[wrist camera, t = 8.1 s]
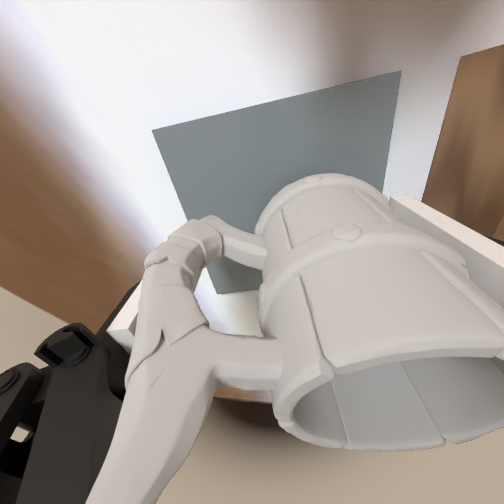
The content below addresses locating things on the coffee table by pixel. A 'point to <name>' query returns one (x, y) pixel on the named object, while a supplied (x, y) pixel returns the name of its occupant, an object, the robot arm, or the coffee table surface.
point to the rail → (472, 147)
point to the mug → (311, 337)
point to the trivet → (276, 156)
